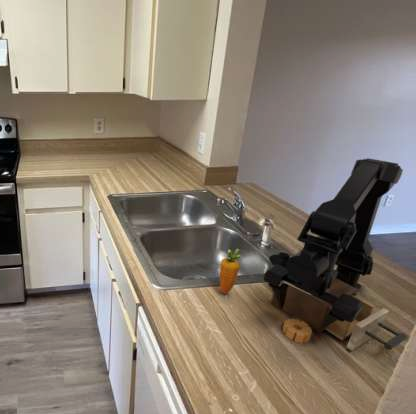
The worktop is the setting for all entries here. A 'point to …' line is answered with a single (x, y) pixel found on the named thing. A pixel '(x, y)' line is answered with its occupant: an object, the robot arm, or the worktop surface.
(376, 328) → the drawer
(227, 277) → the carrot
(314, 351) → the worktop surface
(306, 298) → the cabinet
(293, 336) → the wooden gear wheel
